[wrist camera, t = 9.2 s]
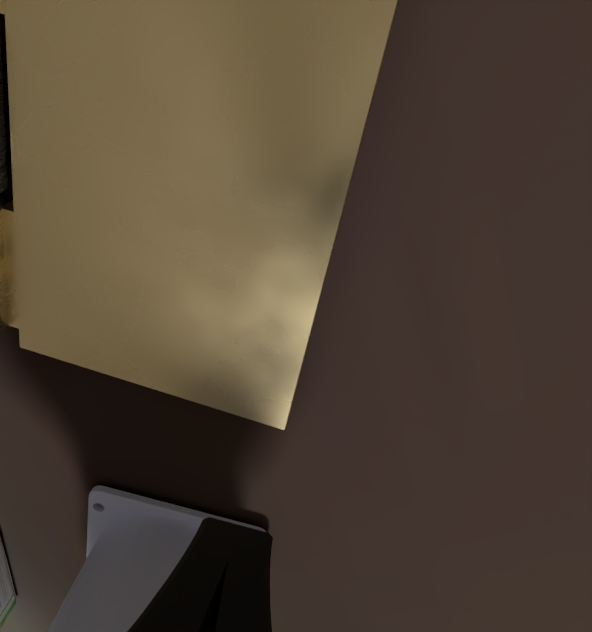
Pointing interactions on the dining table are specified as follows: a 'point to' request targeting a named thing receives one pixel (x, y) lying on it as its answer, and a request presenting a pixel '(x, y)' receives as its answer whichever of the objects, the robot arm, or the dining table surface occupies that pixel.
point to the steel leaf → (2, 134)
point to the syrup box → (5, 588)
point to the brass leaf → (182, 185)
